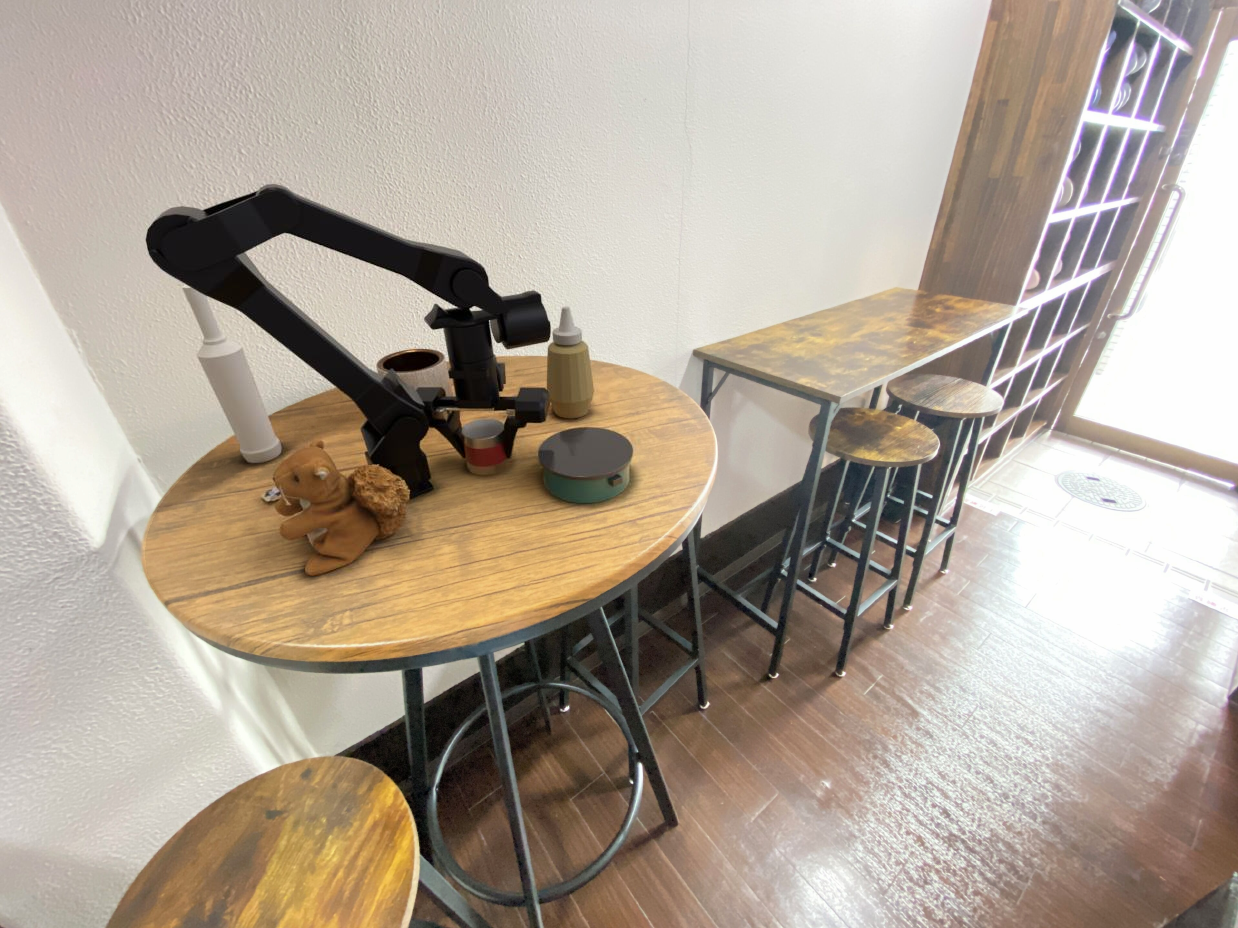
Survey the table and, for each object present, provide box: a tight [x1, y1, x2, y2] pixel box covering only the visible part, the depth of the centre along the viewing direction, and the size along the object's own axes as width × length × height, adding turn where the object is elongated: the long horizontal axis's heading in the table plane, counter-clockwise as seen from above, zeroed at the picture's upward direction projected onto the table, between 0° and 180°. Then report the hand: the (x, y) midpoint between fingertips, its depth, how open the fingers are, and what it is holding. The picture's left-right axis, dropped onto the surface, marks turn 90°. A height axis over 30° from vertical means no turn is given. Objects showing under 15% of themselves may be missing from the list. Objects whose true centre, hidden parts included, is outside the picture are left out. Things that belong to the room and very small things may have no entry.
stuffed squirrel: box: [272, 438, 410, 577], centre depth 61 cm, size 10×14×13 cm
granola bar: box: [260, 486, 282, 502], centre depth 72 cm, size 7×2×1 cm, turn 140°
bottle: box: [181, 284, 283, 464], centre depth 74 cm, size 5×5×25 cm
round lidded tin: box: [537, 426, 634, 504], centre depth 74 cm, size 13×14×5 cm
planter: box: [375, 348, 454, 396], centre depth 89 cm, size 11×11×10 cm
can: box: [461, 418, 510, 476], centre depth 77 cm, size 6×6×6 cm
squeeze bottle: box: [546, 306, 595, 419], centre depth 87 cm, size 8×8×18 cm
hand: (487, 457), depth 78 cm, fingers closed on can, 6 cm apart
